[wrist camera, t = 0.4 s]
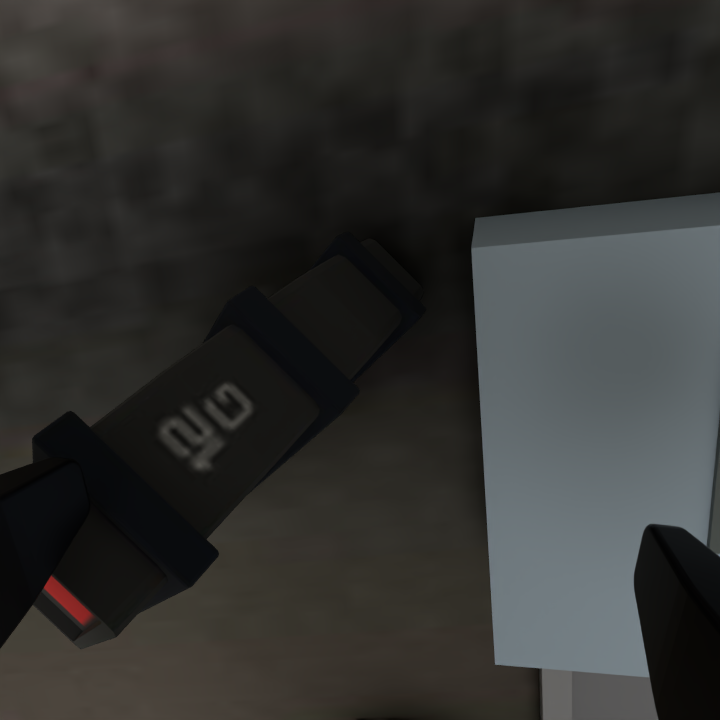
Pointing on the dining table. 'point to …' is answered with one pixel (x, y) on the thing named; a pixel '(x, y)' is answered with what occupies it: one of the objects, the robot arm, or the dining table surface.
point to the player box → (594, 415)
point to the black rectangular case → (216, 432)
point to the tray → (594, 696)
